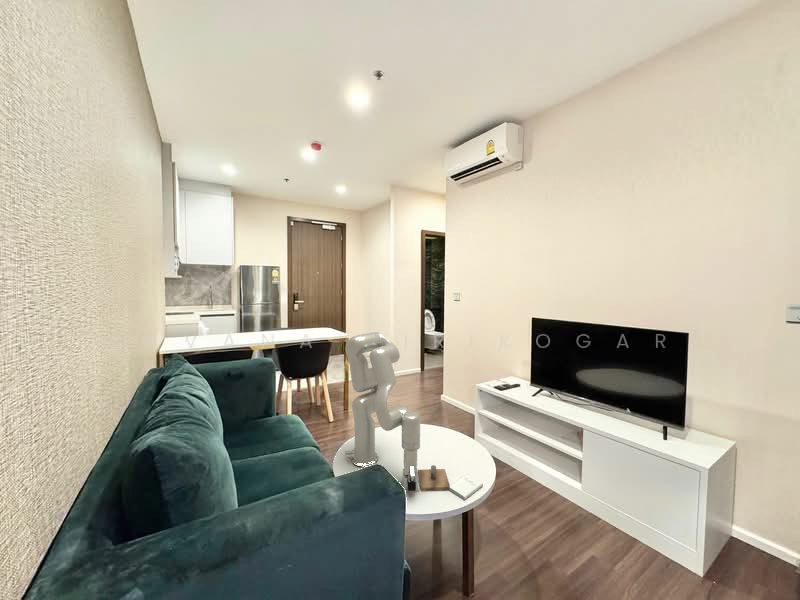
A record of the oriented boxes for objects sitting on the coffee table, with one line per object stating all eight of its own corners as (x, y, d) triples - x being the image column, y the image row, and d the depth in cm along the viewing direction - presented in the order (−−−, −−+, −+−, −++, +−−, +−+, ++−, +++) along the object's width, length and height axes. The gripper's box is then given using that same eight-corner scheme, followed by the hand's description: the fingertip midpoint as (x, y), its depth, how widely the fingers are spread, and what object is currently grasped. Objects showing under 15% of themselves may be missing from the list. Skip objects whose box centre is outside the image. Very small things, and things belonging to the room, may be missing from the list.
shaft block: (420, 491, 132) (421, 476, 131) (417, 472, 144) (417, 458, 143) (450, 490, 133) (450, 475, 132) (444, 472, 145) (444, 458, 144)
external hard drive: (448, 490, 133) (466, 477, 141) (464, 500, 127) (482, 486, 135) (448, 486, 133) (466, 473, 141) (464, 496, 127) (482, 482, 135)
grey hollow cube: (403, 491, 132) (403, 477, 131) (402, 482, 138) (402, 468, 137) (418, 491, 132) (418, 477, 131) (416, 481, 138) (417, 468, 137)
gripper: (400, 432, 141) (400, 469, 143) (402, 455, 124) (402, 497, 126) (417, 432, 142) (417, 469, 143) (422, 454, 125) (422, 496, 126)
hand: (410, 482), depth 135 cm, fingers open, 9 cm apart
